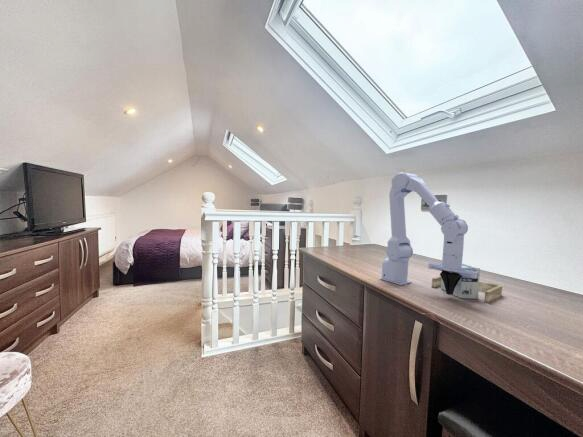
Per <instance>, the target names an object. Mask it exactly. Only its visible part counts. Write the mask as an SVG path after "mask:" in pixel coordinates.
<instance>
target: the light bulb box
mask: <svg viewBox="0 0 583 437" xmlns="http://www.w3.org/2000/svg"><path fill="white" fill-rule="evenodd" d="M462 268H464V269H467V270H471V271H475V272H478V274H477V278H475V279H474V278H471V277H467V276H463V275H462V277H461V279H460V280H459V281H458V283H457V285H456V287H455V289H454V292H453V294H452V295H453V296H455V297H457V298H459V299H477V300H478V299H479V281H480V274H481V267H477V266H476V267H475V266H473V265H471V264H467V263H466V264H465V263H463V262H462ZM440 289H441V290H444V291H445V292H446V289H445V285H444V282H443V280H442V278H441V286H440Z"/></svg>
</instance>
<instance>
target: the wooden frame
mask: <svg viewBox="0 0 583 437" xmlns="http://www.w3.org/2000/svg"><path fill="white" fill-rule="evenodd" d="M438 287H441V276H440V275H439V276H435V277H432V279H431V288H433V289H435V288H438ZM479 291H480V292H484V303H487V304H490V302H493V301H494V300H497V299H498V298H500V297H502V295H503V285H499V284H495V283H492V282H486V281H481V280H479V290H478V292H479Z"/></svg>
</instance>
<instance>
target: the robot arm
mask: <svg viewBox="0 0 583 437" xmlns="http://www.w3.org/2000/svg"><path fill="white" fill-rule="evenodd" d="M412 192H415V193H416V194H417V195H418V196H419V197H420V198H421V199H422V200H423V201H424V202H425V203H426V205H428V207H429V214H431V215H432V217H433V218H434V219H435V221H436V222H437V223H438V224H439V225H440V230H441V233H442V234H443V247H442V259H441V260H442V261H441V264H440V263H435V262H428V265H427V266H428V267H427V269H430V270H436V271H441V272H440V273H439V276H441V278H442V280H443V282H444V285H445V289H446V291H445V294H447V295H450V296H452V295H453V292H454V289H455V287H456V285H457V283H458V281H459V280H460V279H461V277H462V275H463V276H467V277H471V278H474V279H475V278H477V274H478V272H475V271H471V270H467V269H464V268H462V263H463V256H464V244H465V242H464V240H465V234H467V232H468V230H469V225H468V224H467V222H466V221H465V220H464V219H463V218H462V219H461V218H460V216H459V215H458V214H456V213H455V212H454V211H453V210H452V209H451V208H450V207H451V206H450V204H449V203H446V202H444V201H439V200H438V199H437V197H436V196H435V195H434V193H433V192H432V191H431V190H430V188H429V187H428V186H427V184H426V183H425V181H424V179H422V177H420V175H418V174H416V173H408V172H404V171H400V172H397V173H396V174H395V175H394V176H393V178H391V188H390V190H389V193H388V194H389V212H390V213H389V214H390V230H391V237H390V238H389V239H388V241H387V247H386V250H385V253H386V254H385V255H386V256H387V257H386V258H385V259H383V261H382V266H381V278H380V280H383V281H385V282H389V283H392V284H395V285H399V286H404V285H408V284H411V283H412V280H410V279H408V274H409V261H410V258H411V257H412V256H413V254H414V248H413V247H412V246H411V240H410V239H409V238H408V237H407V228H406V226H407V225H406V212H405V197H407V195H409V194H411V193H412Z"/></svg>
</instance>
